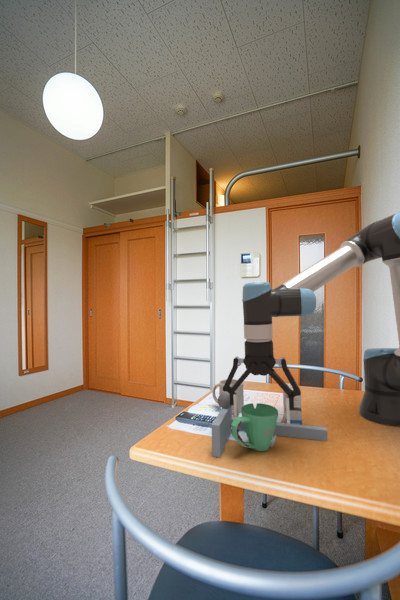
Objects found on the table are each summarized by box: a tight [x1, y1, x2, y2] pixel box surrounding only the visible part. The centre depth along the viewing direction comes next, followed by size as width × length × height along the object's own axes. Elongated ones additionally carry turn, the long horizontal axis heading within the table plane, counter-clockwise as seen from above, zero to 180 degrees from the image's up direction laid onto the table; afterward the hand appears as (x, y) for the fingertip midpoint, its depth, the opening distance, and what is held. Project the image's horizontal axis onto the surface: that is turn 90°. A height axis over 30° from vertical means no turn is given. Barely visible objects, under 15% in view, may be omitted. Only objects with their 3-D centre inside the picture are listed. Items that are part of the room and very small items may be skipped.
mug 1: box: [211, 378, 245, 415], centre depth 103 cm, size 11×10×10 cm
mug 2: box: [231, 402, 279, 452], centre depth 73 cm, size 15×10×10 cm
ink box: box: [282, 382, 303, 425], centre depth 89 cm, size 9×5×12 cm, turn 168°
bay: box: [211, 381, 328, 458], centre depth 76 cm, size 30×20×14 cm, turn 73°
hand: (261, 419), depth 74 cm, fingers open, 13 cm apart
